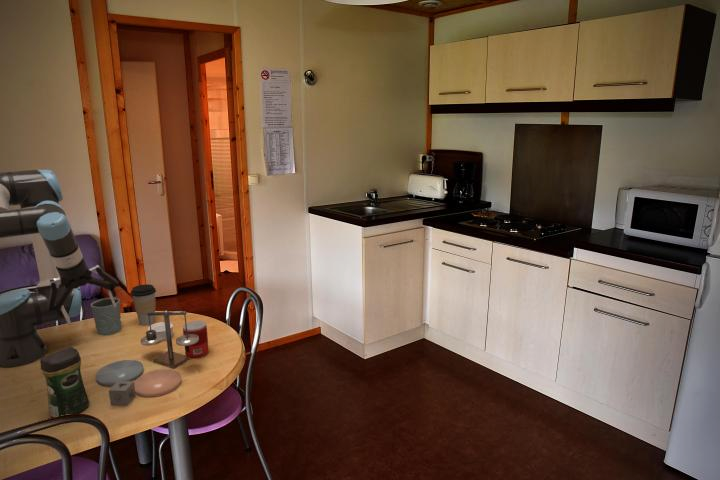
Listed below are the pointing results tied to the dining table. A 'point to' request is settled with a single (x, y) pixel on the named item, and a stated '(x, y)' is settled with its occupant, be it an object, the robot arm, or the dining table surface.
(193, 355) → the canned food
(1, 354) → the robot arm
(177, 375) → the terracotta dish
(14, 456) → the dining table surface
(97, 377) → the slate dish
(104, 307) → the grey-green ceramic planter
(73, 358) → the coffee jar
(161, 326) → the ramekin
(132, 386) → the dice cube
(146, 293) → the coffee cup
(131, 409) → the dining table surface
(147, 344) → the balance
